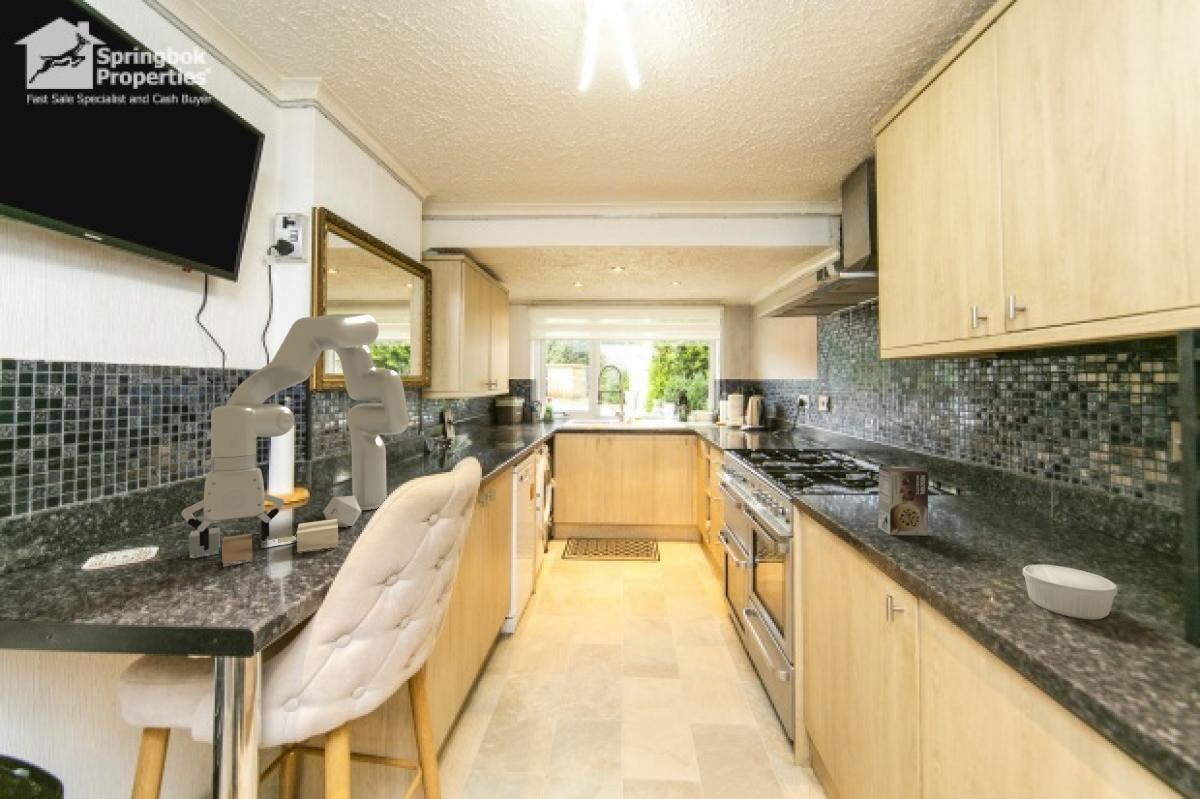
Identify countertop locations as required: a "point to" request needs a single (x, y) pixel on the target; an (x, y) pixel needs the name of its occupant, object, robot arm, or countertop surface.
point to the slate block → (196, 548)
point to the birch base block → (317, 535)
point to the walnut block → (236, 548)
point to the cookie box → (903, 500)
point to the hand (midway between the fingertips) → (235, 544)
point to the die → (343, 510)
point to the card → (286, 539)
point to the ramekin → (1069, 591)
